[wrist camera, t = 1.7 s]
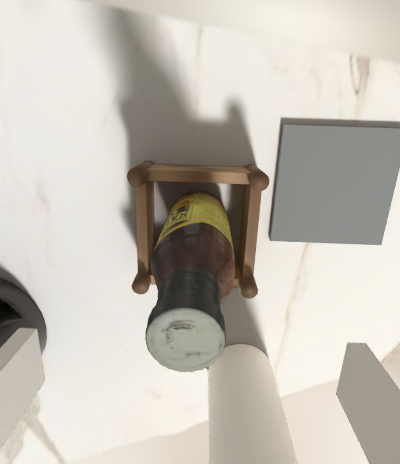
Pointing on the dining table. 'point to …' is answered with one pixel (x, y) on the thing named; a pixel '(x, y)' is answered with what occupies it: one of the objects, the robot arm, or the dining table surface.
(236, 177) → the corner post wooden tray
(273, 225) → the mat
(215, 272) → the sauce bottle
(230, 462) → the bottle
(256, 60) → the dining table surface
